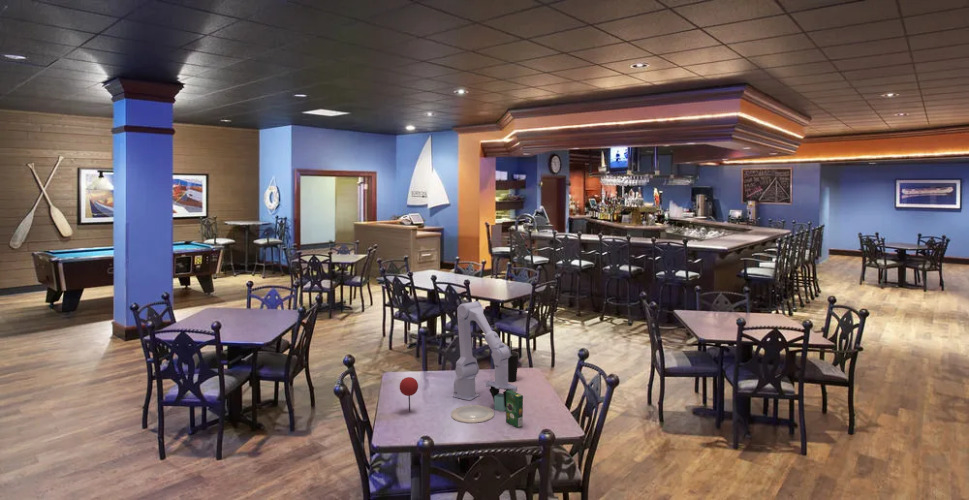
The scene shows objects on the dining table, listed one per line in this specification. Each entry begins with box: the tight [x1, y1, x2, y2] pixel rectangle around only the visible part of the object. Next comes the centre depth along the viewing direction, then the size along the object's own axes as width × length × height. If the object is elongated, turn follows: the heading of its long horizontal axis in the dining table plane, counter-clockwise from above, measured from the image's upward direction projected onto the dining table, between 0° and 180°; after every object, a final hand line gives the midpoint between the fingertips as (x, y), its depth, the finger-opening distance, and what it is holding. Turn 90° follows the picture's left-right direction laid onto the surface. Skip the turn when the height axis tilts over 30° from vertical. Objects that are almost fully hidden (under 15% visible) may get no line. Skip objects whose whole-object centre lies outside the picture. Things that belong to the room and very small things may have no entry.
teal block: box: [493, 392, 506, 412], centre depth 252 cm, size 4×4×6 cm
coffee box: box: [505, 390, 524, 429], centre depth 234 cm, size 8×3×13 cm, turn 35°
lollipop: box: [399, 376, 419, 413], centre depth 249 cm, size 8×8×15 cm
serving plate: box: [450, 404, 495, 424], centre depth 245 cm, size 18×18×1 cm
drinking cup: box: [508, 340, 520, 383], centre depth 288 cm, size 8×8×20 cm
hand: (501, 405), depth 252 cm, fingers closed on teal block, 4 cm apart
